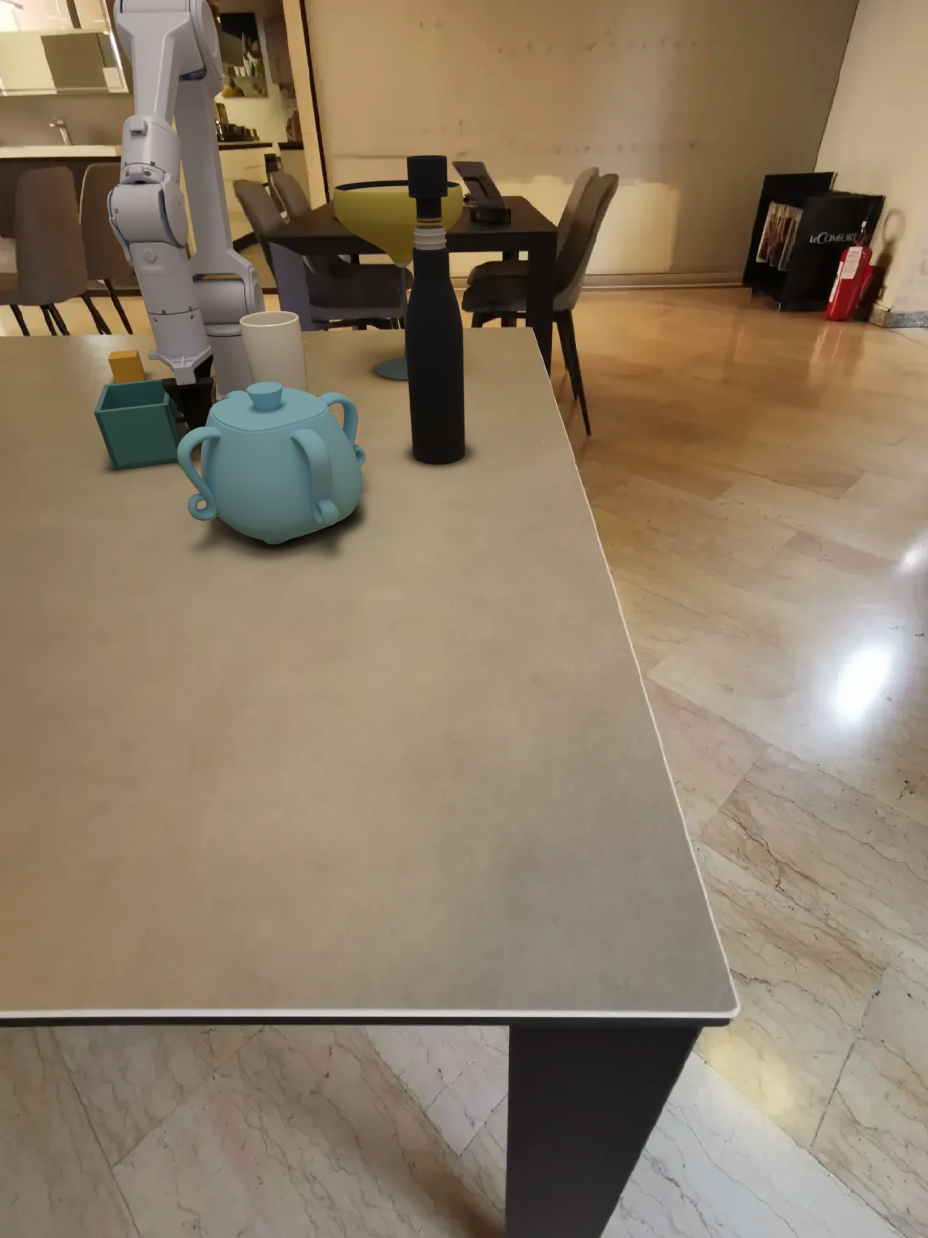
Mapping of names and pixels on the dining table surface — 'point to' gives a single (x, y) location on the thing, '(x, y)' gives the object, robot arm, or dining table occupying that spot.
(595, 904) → the dining table surface
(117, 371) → the block
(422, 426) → the black bottle
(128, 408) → the teal bevelled box
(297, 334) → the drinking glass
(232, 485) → the decorative pot
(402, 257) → the cocktail glass
